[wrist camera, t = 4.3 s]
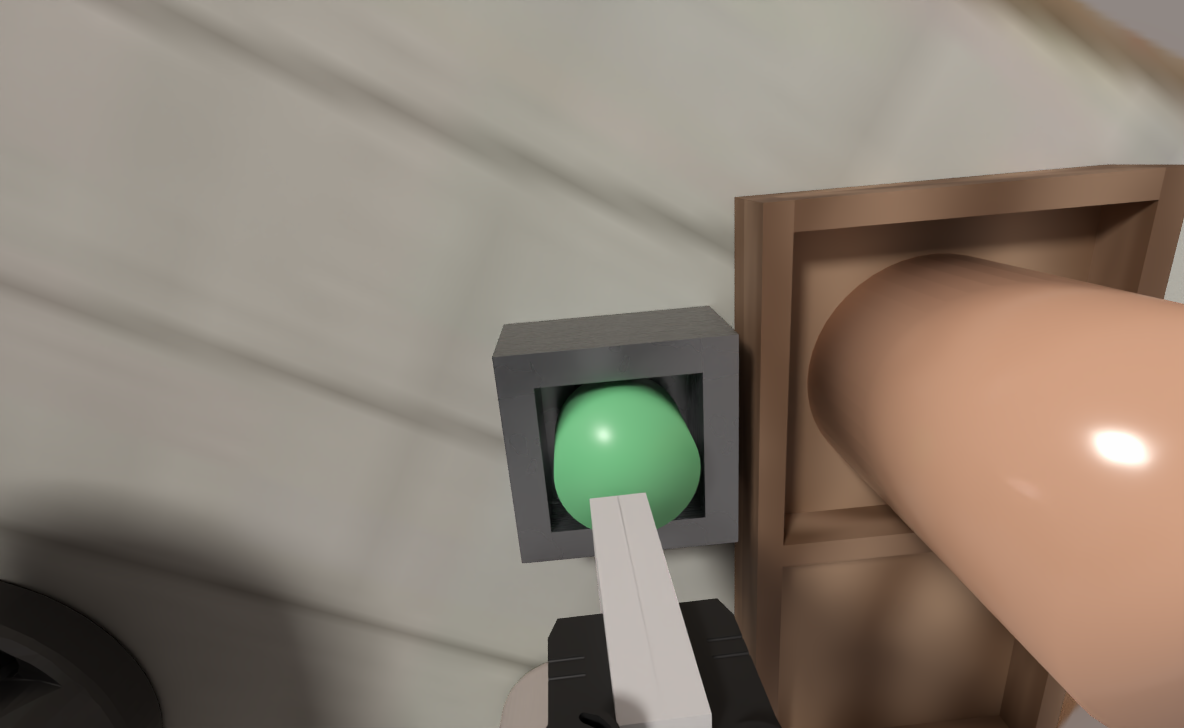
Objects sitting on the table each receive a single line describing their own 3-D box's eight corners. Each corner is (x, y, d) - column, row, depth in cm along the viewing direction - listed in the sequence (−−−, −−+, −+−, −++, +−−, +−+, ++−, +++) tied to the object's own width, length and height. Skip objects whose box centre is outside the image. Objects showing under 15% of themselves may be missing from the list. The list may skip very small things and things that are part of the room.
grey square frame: (528, 503, 25) (522, 563, 21) (503, 324, 22) (492, 357, 19) (711, 485, 25) (738, 542, 21) (709, 305, 23) (738, 334, 19)
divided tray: (734, 734, 30) (753, 798, 27) (734, 197, 21) (763, 202, 18) (998, 706, 30) (1047, 766, 27) (1107, 164, 22) (1197, 164, 19)
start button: (561, 495, 22) (561, 542, 20) (548, 379, 21) (546, 413, 18) (684, 483, 23) (701, 528, 20) (680, 367, 21) (699, 398, 18)
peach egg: (802, 481, 24) (1019, 766, 13) (812, 264, 21) (1106, 381, 10) (1016, 460, 24) (1418, 723, 13) (1055, 242, 21) (1623, 332, 10)
